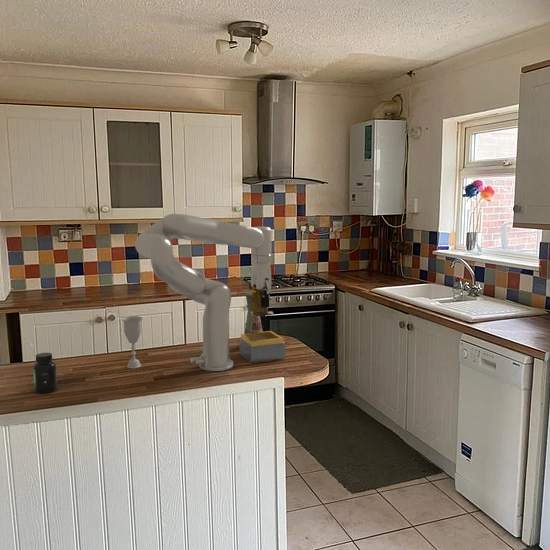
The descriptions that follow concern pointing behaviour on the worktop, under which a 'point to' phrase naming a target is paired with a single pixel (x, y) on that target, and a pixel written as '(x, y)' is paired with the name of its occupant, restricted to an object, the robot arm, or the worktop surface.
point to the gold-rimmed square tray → (262, 346)
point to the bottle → (252, 321)
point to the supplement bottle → (44, 374)
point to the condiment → (258, 304)
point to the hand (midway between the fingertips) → (261, 305)
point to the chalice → (132, 336)
